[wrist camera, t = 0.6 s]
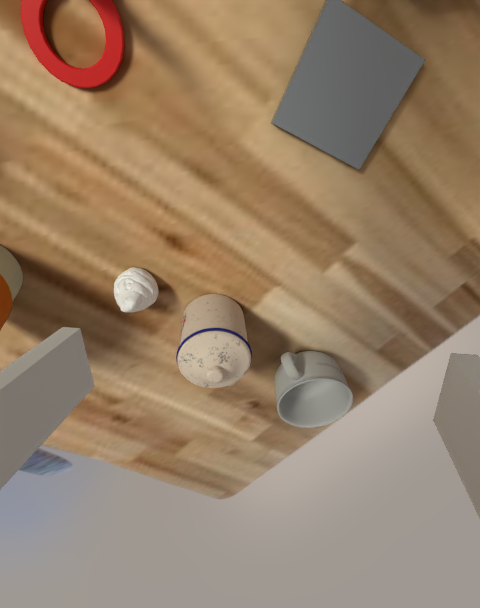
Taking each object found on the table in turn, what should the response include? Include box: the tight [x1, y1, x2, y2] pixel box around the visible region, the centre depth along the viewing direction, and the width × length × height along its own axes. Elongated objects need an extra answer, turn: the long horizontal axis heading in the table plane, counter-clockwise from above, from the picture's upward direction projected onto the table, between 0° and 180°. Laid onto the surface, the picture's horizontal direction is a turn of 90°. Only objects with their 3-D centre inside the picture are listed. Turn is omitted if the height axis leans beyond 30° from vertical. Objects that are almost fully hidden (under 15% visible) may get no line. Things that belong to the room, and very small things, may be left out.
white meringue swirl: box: [114, 267, 159, 312], centre depth 42 cm, size 6×6×5 cm
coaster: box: [271, 0, 425, 170], centre depth 34 cm, size 11×11×1 cm
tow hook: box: [21, 0, 125, 88], centre depth 25 cm, size 8×13×9 cm
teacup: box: [275, 351, 353, 428], centre depth 50 cm, size 14×11×8 cm
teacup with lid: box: [176, 294, 252, 388], centre depth 44 cm, size 12×9×12 cm
